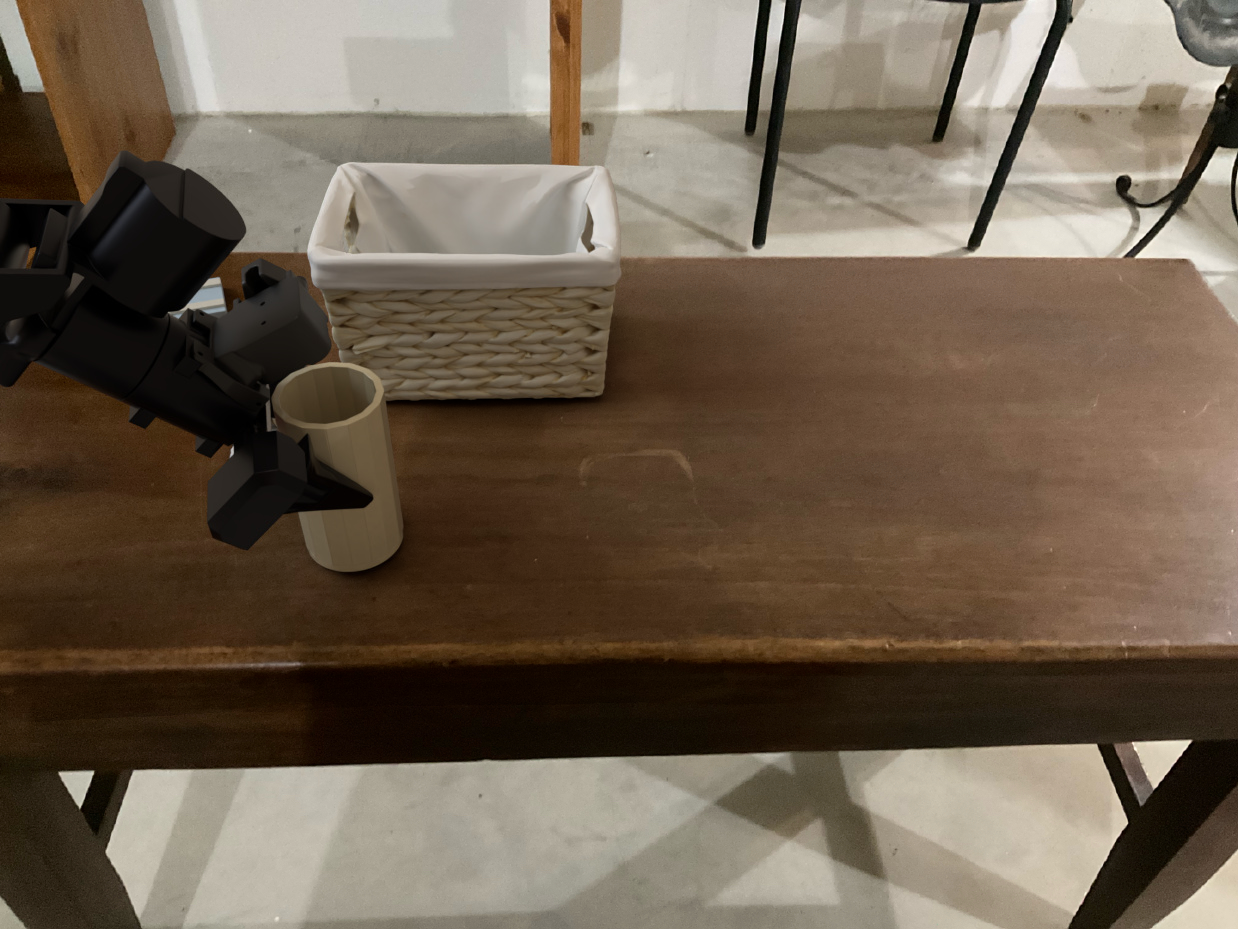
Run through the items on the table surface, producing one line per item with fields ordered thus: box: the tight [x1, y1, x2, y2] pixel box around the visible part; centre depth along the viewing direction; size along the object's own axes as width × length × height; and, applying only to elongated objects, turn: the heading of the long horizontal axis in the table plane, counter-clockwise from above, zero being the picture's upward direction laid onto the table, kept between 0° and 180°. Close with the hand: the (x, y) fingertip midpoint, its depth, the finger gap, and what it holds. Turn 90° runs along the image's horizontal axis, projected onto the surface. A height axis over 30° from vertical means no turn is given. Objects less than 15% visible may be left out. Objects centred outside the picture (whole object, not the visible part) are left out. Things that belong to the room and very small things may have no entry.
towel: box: [168, 276, 228, 319], centre depth 88 cm, size 10×6×2 cm, turn 112°
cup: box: [271, 361, 404, 573], centre depth 65 cm, size 7×7×13 cm
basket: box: [306, 161, 622, 402], centre depth 81 cm, size 24×16×15 cm
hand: (364, 465), depth 65 cm, fingers closed on cup, 7 cm apart
